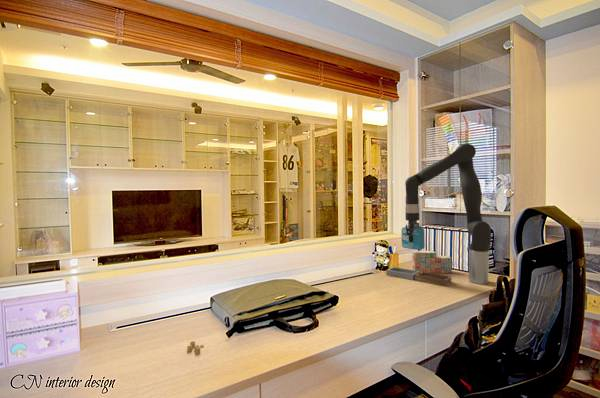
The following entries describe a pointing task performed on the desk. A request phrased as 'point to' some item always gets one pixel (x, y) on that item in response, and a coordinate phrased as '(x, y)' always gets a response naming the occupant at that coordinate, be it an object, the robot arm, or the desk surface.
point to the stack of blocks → (431, 262)
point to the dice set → (196, 347)
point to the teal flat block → (417, 239)
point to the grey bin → (402, 273)
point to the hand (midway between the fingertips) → (412, 241)
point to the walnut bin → (433, 278)
